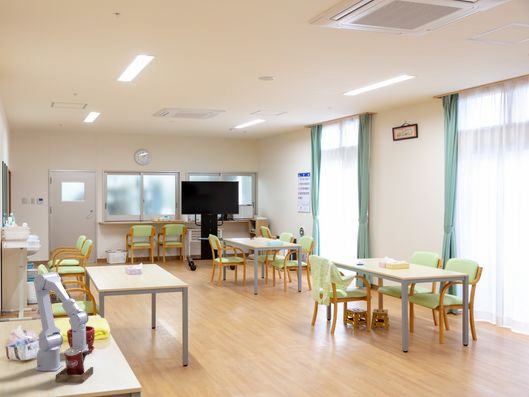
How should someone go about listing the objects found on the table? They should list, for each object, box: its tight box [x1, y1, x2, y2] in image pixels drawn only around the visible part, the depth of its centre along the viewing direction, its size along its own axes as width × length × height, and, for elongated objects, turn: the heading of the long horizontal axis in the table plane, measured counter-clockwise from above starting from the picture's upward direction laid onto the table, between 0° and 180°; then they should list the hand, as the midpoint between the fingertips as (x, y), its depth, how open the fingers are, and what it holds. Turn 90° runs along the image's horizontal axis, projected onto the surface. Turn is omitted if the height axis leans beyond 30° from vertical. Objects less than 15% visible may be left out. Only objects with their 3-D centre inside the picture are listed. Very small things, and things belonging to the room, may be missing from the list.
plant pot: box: [66, 325, 96, 355], centre depth 278 cm, size 13×13×12 cm
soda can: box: [64, 347, 85, 375], centre depth 241 cm, size 7×7×12 cm
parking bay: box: [55, 366, 94, 384], centre depth 242 cm, size 12×12×3 cm
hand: (79, 369), depth 247 cm, fingers closed, pressing on soda can
